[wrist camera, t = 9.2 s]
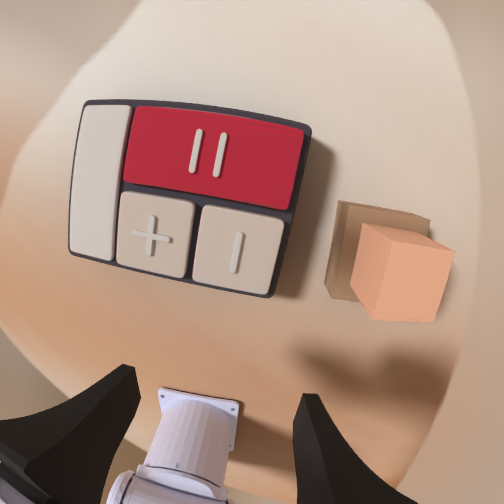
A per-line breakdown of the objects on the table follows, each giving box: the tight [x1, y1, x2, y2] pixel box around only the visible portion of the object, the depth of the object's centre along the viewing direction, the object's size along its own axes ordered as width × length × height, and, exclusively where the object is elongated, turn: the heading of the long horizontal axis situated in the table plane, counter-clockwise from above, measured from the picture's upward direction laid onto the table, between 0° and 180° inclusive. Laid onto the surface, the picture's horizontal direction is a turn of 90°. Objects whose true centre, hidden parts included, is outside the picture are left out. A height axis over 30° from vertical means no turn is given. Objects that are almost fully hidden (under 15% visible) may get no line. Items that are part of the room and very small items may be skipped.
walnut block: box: [324, 200, 430, 301], centre depth 18 cm, size 6×6×3 cm
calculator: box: [68, 99, 312, 298], centre depth 17 cm, size 11×4×15 cm
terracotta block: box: [350, 223, 455, 322], centre depth 14 cm, size 4×4×4 cm
